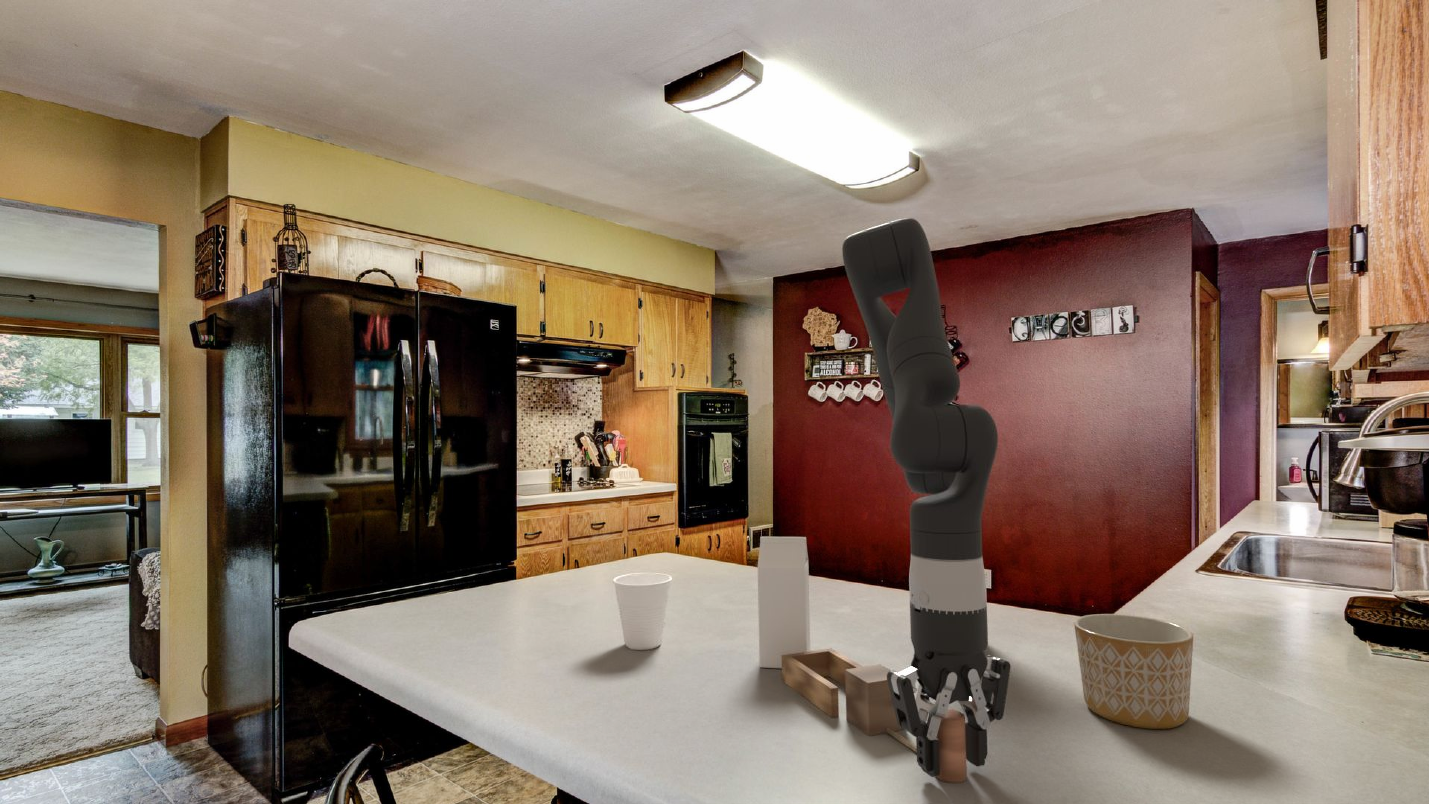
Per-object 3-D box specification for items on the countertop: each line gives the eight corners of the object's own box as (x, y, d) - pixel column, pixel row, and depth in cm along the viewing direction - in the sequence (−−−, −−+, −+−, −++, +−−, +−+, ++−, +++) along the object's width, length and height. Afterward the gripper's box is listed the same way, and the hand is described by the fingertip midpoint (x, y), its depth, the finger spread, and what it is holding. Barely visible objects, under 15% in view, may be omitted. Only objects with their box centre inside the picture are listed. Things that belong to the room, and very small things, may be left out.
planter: (1200, 744, 77) (1196, 648, 78) (1072, 720, 84) (1069, 632, 84) (1194, 705, 88) (1190, 621, 89) (1081, 687, 95) (1078, 609, 95)
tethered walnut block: (846, 719, 85) (845, 669, 86) (881, 712, 87) (879, 664, 87) (940, 786, 69) (938, 724, 69) (980, 777, 71) (979, 717, 71)
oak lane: (781, 680, 99) (781, 655, 99) (831, 672, 102) (831, 648, 102) (831, 717, 86) (831, 688, 86) (887, 707, 89) (886, 679, 89)
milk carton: (807, 670, 103) (804, 540, 104) (759, 668, 104) (756, 540, 105) (810, 655, 110) (807, 533, 111) (765, 653, 111) (763, 533, 112)
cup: (602, 650, 114) (601, 582, 115) (631, 633, 123) (630, 570, 124) (656, 657, 110) (655, 586, 111) (682, 639, 120) (681, 574, 120)
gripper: (978, 585, 78) (983, 741, 77) (867, 597, 73) (871, 764, 72) (1030, 600, 71) (1036, 771, 70) (911, 615, 66) (916, 800, 65)
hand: (952, 767), depth 71 cm, fingers open, 5 cm apart
